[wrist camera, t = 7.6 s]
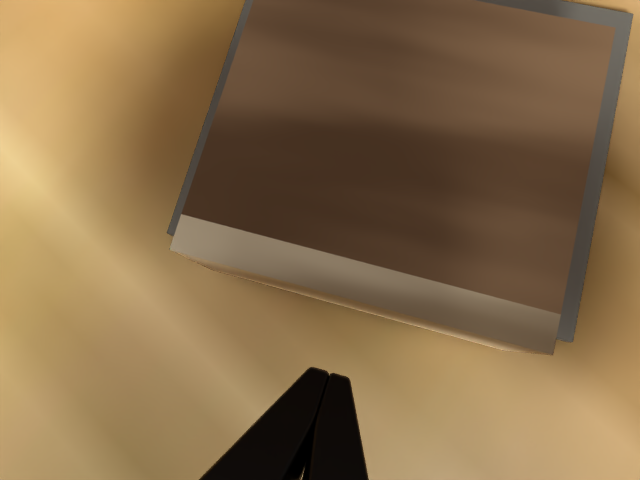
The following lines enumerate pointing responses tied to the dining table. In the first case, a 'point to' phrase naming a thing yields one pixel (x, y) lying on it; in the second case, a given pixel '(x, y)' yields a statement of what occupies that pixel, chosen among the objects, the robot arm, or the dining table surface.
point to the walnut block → (404, 161)
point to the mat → (552, 4)
